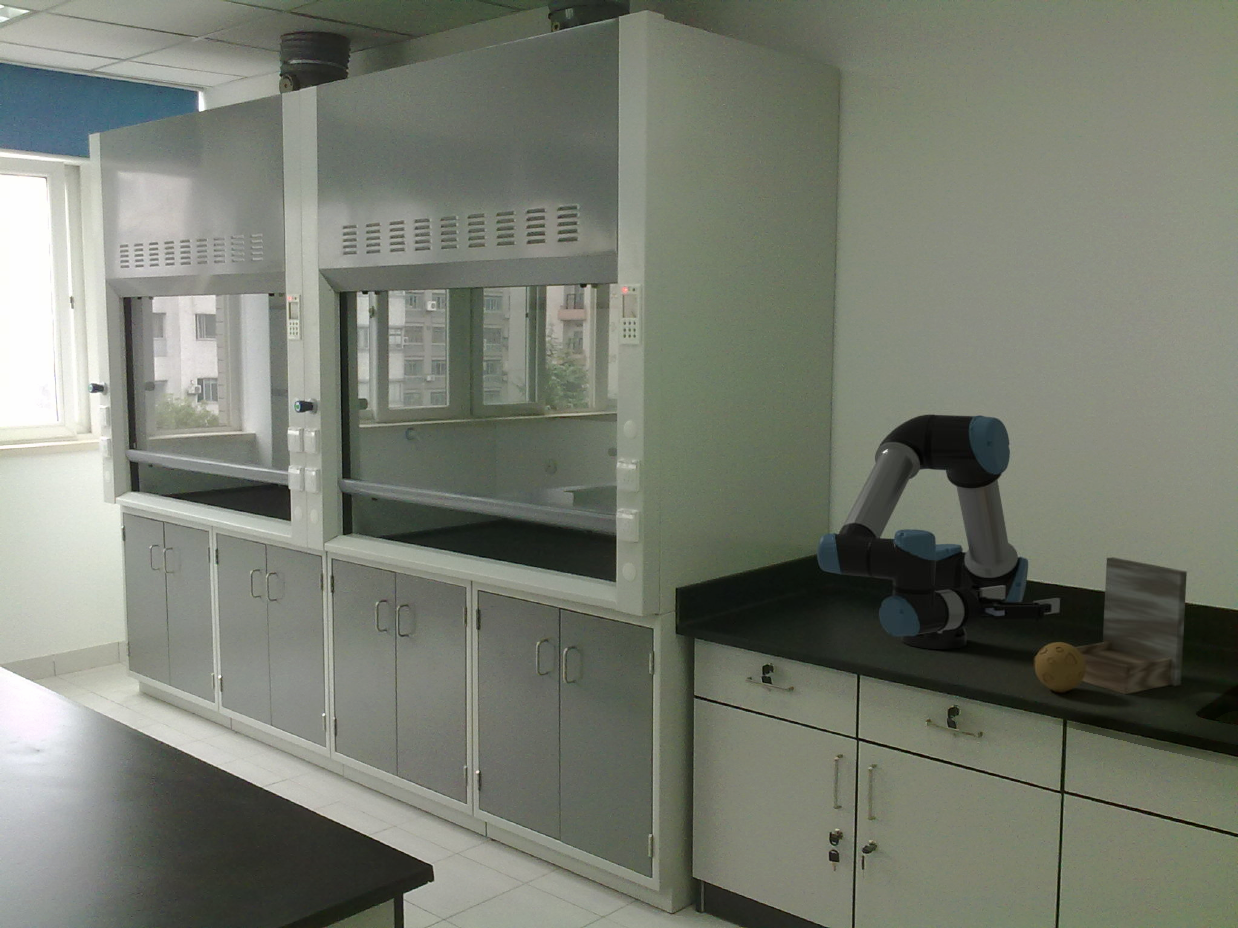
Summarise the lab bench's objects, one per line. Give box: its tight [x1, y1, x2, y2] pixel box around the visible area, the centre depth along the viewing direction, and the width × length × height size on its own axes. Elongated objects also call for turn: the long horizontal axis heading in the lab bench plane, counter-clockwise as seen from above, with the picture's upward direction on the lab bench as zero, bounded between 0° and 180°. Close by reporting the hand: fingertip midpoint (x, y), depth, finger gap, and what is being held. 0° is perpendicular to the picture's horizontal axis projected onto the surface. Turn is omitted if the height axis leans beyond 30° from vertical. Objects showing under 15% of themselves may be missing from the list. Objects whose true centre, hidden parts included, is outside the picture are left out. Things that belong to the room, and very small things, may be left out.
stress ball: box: [1033, 641, 1086, 693], centre depth 237 cm, size 10×10×10 cm
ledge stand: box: [1074, 556, 1188, 695], centre depth 245 cm, size 16×18×24 cm
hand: (1030, 598), depth 231 cm, fingers open, 13 cm apart
